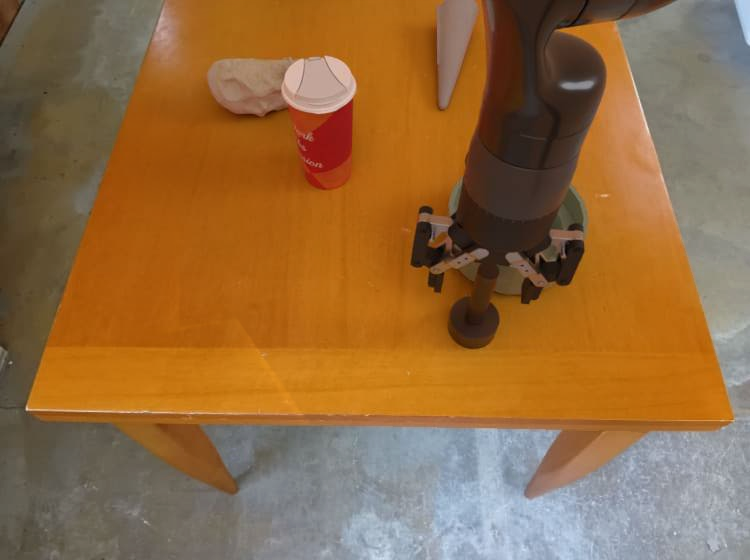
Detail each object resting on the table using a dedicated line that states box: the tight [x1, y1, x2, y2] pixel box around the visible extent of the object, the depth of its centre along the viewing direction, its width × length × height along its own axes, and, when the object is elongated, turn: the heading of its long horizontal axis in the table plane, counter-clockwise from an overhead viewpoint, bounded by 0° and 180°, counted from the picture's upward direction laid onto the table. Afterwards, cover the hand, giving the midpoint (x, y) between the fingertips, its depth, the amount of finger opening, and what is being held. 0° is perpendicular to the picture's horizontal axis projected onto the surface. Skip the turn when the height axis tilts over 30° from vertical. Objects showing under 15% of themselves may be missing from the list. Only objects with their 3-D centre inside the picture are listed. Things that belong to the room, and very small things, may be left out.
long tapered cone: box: [436, 0, 480, 111], centre depth 83 cm, size 6×6×19 cm
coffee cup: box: [281, 55, 357, 191], centre depth 68 cm, size 8×8×15 cm
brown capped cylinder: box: [447, 263, 500, 350], centre depth 57 cm, size 5×5×11 cm
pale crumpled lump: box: [206, 56, 309, 118], centre depth 78 cm, size 15×7×15 cm
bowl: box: [443, 174, 590, 295], centre depth 65 cm, size 15×15×6 cm
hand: (481, 290), depth 55 cm, fingers open, 8 cm apart
